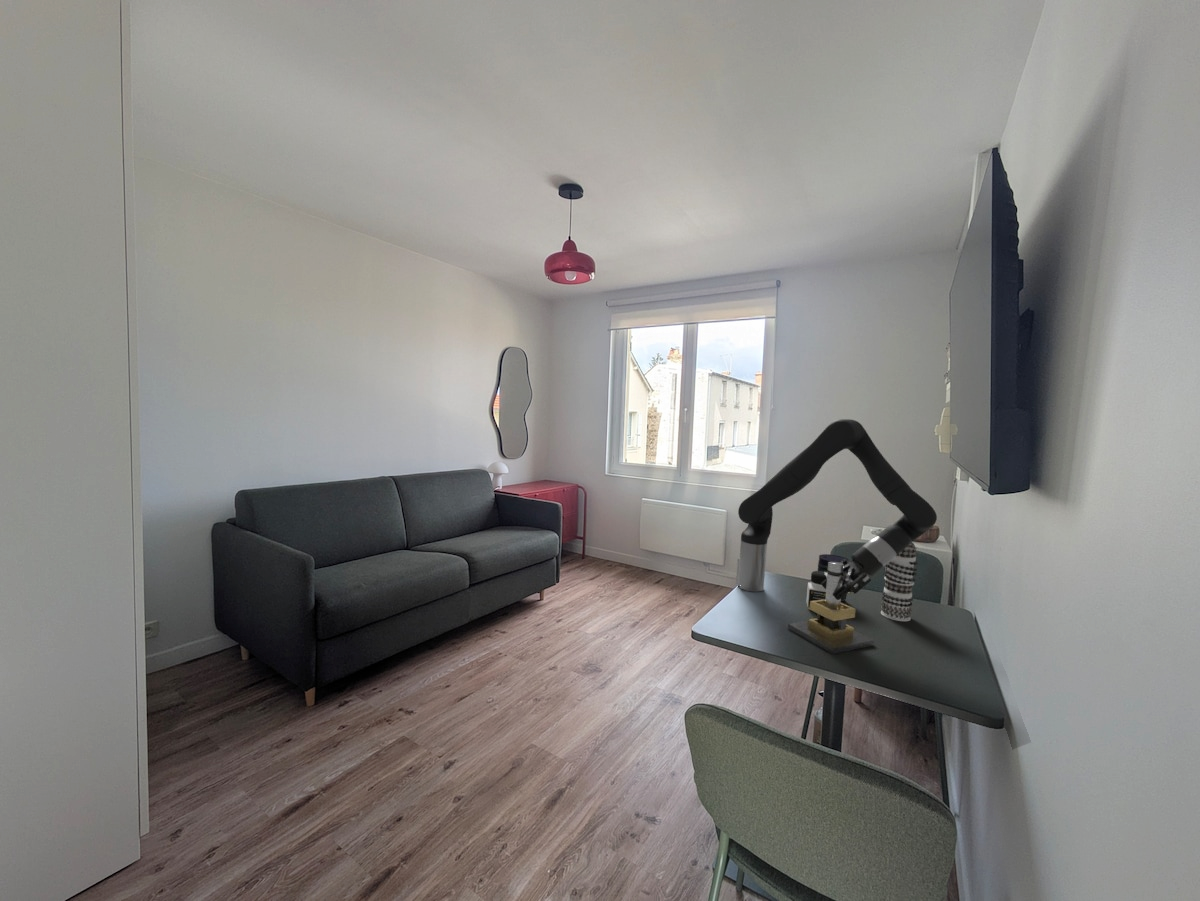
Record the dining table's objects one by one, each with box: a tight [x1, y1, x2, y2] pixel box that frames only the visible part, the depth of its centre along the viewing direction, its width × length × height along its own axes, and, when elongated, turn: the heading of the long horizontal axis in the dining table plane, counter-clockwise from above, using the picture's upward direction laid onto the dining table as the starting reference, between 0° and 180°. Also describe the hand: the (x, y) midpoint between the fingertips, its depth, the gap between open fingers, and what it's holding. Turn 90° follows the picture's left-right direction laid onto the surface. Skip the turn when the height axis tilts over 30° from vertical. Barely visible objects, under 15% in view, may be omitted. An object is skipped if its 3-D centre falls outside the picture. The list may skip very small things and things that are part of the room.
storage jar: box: [817, 553, 850, 605], centre depth 172 cm, size 10×10×15 cm
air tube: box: [823, 562, 844, 629], centre depth 142 cm, size 4×4×20 cm
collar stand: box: [787, 599, 875, 655], centre depth 142 cm, size 16×16×10 cm
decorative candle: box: [880, 541, 919, 622], centre depth 160 cm, size 9×9×25 cm
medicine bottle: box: [806, 570, 827, 610], centre depth 165 cm, size 7×7×12 cm
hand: (828, 591), depth 142 cm, fingers open, 8 cm apart
